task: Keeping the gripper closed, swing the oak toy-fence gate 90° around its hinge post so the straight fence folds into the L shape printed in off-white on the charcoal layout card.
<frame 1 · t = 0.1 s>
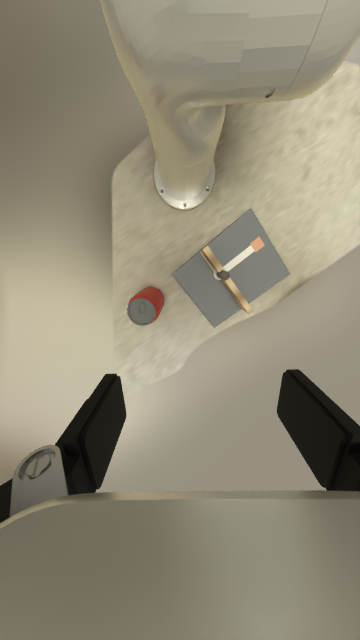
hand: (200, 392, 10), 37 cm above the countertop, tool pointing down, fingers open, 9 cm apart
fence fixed: (211, 259, 39), on the layout card, point 4 cm above the countertop
fence gate: (234, 291, 41), point 4 cm above the countertop, hinge at 0.0°
layout card: (219, 273, 44), on the countertop
beer can: (151, 299, 46), on the countertop
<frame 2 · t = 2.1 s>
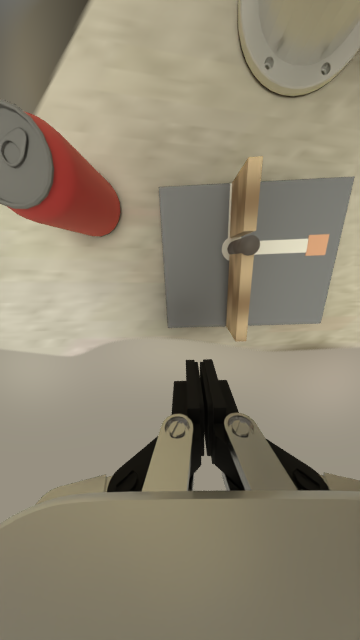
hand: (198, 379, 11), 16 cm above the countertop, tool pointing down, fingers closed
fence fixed: (242, 204, 19), on the layout card, point 4 cm above the countertop
fence gate: (238, 290, 21), point 4 cm above the countertop, hinge at 0.0°
layout card: (231, 249, 24), on the countertop
beer can: (96, 208, 23), on the countertop
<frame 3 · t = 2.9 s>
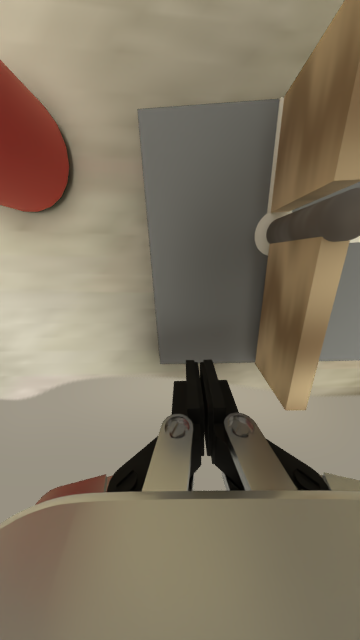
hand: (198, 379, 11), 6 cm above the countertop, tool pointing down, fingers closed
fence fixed: (316, 131, 9), on the layout card, point 4 cm above the countertop
fence gate: (290, 311, 11), point 4 cm above the countertop, hinge at 0.0°
layout card: (269, 235, 13), on the countertop
beer can: (28, 161, 12), on the countertop
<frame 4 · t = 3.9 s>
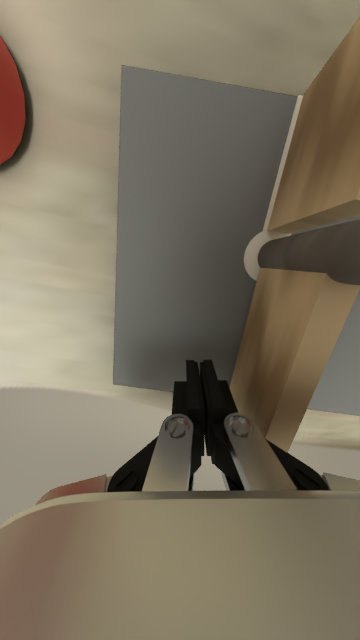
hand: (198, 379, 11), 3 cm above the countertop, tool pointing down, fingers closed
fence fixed: (337, 137, 7), on the layout card, point 4 cm above the countertop
fence gate: (273, 354, 9), point 4 cm above the countertop, hinge at 1.1°, touching gripper
layout card: (262, 257, 11), on the countertop
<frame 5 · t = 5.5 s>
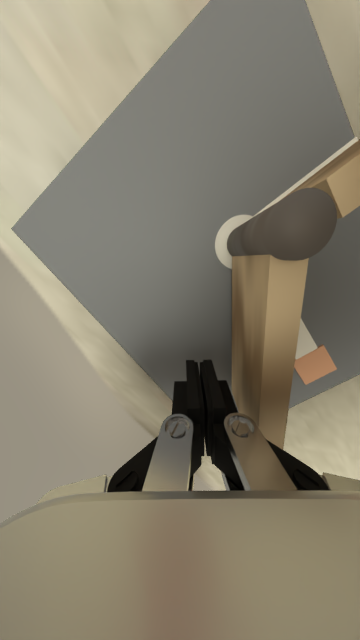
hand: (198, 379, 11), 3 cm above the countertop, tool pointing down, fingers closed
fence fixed: (351, 169, 7), on the layout card, point 4 cm above the countertop
fence gate: (256, 338, 9), point 4 cm above the countertop, hinge at 58.3°, touching gripper
layout card: (235, 244, 12), on the countertop
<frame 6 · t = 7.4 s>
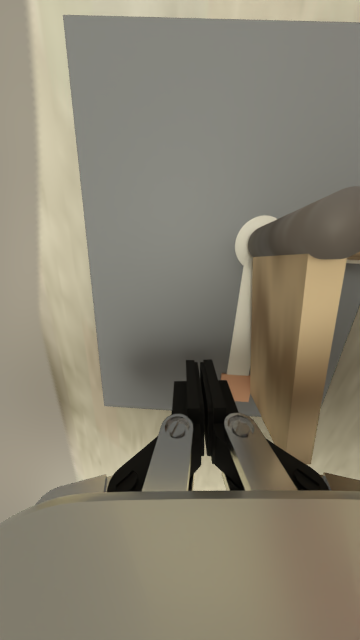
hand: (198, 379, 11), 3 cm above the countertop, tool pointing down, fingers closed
fence gate: (282, 338, 9), point 4 cm above the countertop, hinge at 98.8°
layout card: (254, 245, 12), on the countertop
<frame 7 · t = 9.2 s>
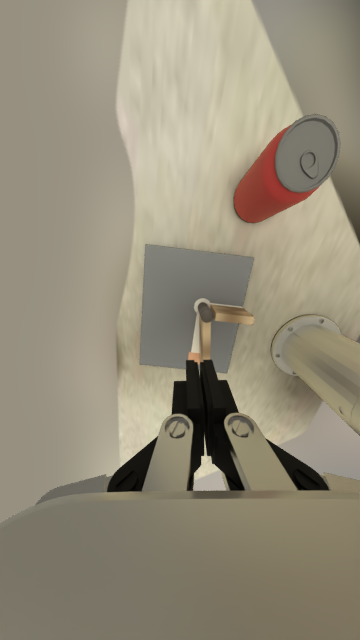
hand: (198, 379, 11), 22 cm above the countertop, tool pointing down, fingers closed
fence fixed: (229, 313, 29), on the layout card, point 4 cm above the countertop
fence gate: (204, 338, 30), point 4 cm above the countertop, hinge at 98.8°
layout card: (201, 305, 32), on the countertop
beer can: (254, 199, 27), on the countertop
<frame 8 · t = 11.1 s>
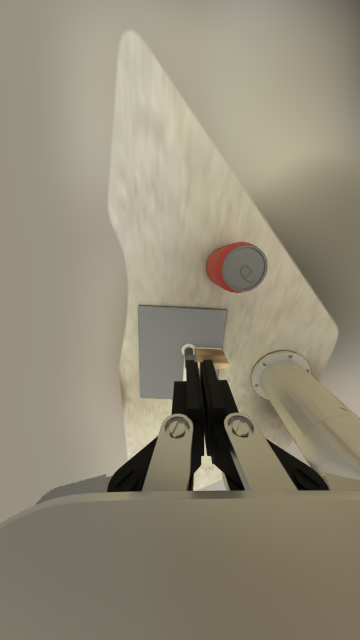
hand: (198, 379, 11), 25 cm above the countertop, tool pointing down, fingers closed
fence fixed: (210, 357, 35), on the layout card, point 4 cm above the countertop
fence gate: (191, 378, 36), point 4 cm above the countertop, hinge at 98.8°
layout card: (188, 348, 39), on the countertop
beer can: (223, 266, 33), on the countertop
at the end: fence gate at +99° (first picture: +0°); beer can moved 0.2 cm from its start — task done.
